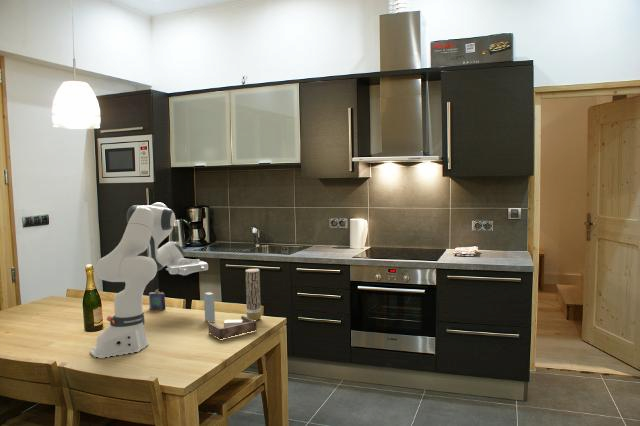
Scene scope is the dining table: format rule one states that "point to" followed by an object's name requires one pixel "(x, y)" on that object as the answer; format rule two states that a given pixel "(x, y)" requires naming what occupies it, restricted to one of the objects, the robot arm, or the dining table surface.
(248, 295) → the brown patterned cylinder
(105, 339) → the robot arm
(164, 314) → the dining table surface
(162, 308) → the flask
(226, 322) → the offcut upper
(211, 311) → the blue-grey block
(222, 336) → the brown basket
